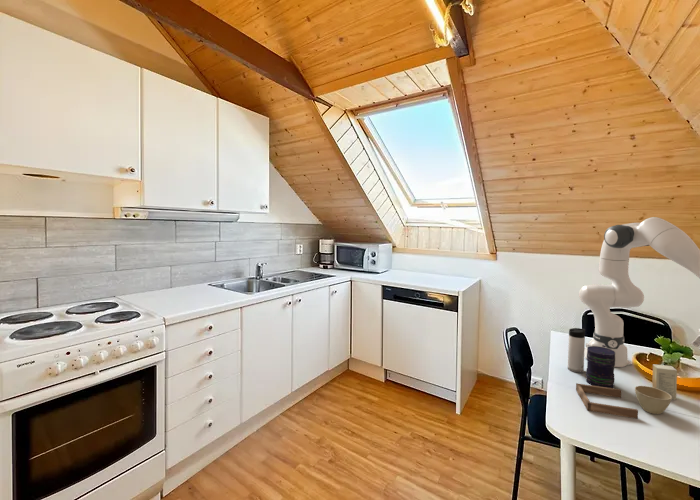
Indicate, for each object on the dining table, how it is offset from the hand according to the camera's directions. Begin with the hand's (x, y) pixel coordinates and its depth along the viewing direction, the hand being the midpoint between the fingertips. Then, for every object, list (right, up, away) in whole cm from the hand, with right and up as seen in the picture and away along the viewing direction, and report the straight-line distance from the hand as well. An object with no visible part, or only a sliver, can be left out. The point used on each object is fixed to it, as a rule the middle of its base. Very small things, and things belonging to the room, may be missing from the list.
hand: (697, 347), depth 113 cm
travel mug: (-13, -24, +42) cm, 50 cm away
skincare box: (+6, -25, +18) cm, 31 cm away
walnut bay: (-21, -26, +14) cm, 36 cm away
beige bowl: (-8, -26, +8) cm, 29 cm away
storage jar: (-12, -25, +29) cm, 40 cm away
